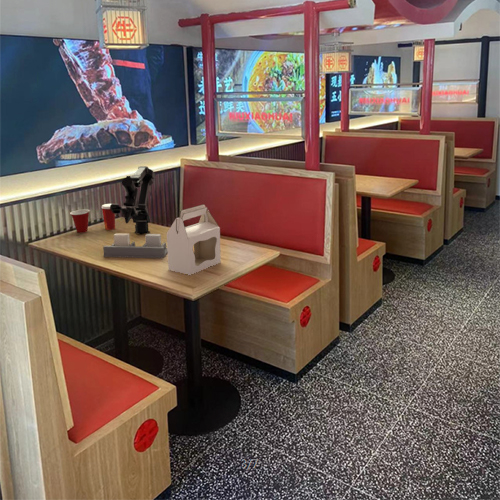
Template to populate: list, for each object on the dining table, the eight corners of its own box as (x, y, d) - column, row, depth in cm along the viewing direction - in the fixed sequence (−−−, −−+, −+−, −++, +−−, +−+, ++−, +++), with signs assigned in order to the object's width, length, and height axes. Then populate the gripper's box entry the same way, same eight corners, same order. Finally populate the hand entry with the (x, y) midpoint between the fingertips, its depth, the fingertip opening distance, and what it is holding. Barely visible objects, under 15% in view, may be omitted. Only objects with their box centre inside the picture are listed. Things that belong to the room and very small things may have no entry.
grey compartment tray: (112, 248, 280) (111, 239, 278) (169, 250, 277) (169, 240, 276) (103, 256, 268) (102, 247, 266) (163, 258, 265) (163, 248, 263)
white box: (148, 249, 275) (147, 233, 273) (161, 249, 275) (160, 234, 272) (146, 251, 272) (145, 235, 270) (160, 251, 272) (159, 235, 269)
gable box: (189, 276, 241) (186, 214, 233) (167, 270, 249) (164, 210, 240) (221, 262, 258) (219, 204, 250) (200, 257, 266) (198, 201, 257)
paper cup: (119, 227, 320) (117, 204, 315) (112, 230, 313) (110, 207, 308) (107, 226, 322) (105, 203, 318) (100, 229, 315) (98, 206, 311)
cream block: (117, 248, 277) (115, 233, 274) (130, 248, 276) (129, 233, 274) (114, 250, 274) (113, 235, 271) (128, 250, 273) (127, 235, 271)
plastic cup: (73, 229, 316) (71, 209, 313) (93, 228, 318) (91, 208, 314) (70, 234, 306) (67, 213, 303) (89, 233, 307) (87, 213, 304)
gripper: (152, 205, 293) (148, 231, 286) (118, 205, 295) (113, 230, 288) (147, 194, 283) (142, 220, 276) (112, 193, 285) (106, 219, 278)
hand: (126, 223), depth 280 cm, fingers closed
